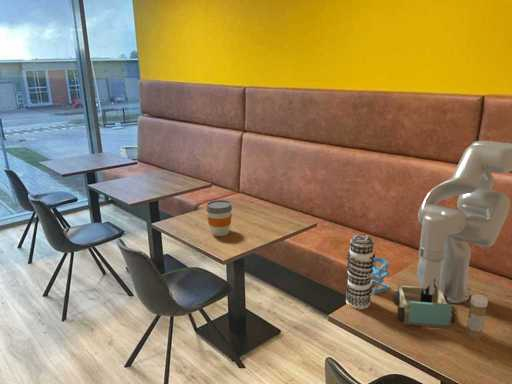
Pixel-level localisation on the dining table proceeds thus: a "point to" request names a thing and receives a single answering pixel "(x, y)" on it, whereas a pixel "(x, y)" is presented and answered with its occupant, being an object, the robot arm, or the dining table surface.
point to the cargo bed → (414, 294)
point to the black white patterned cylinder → (360, 271)
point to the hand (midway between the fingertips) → (425, 302)
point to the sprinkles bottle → (476, 316)
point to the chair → (380, 275)
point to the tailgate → (429, 314)
